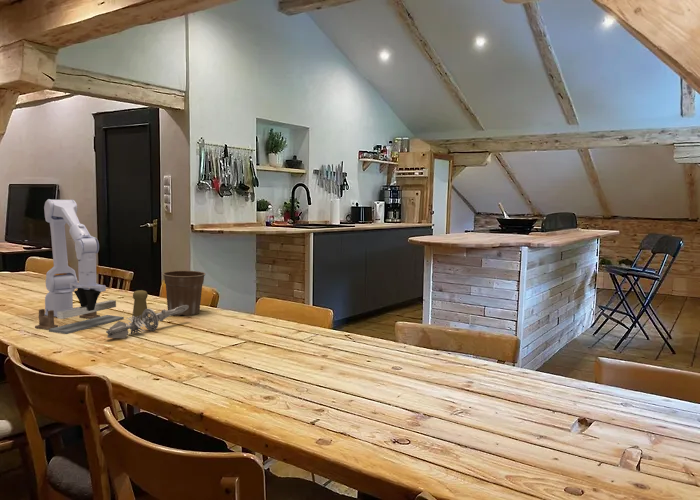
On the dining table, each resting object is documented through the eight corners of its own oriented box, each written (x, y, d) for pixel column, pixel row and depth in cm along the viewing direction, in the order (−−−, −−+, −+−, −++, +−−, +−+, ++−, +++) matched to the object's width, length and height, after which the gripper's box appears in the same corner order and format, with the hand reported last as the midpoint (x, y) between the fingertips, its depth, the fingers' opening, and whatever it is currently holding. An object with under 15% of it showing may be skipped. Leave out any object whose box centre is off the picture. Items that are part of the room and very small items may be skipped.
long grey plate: (48, 331, 189) (48, 329, 189) (107, 316, 214) (107, 314, 214) (66, 333, 187) (66, 331, 186) (123, 319, 211) (123, 316, 211)
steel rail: (57, 318, 189) (57, 311, 189) (110, 306, 211) (110, 300, 211) (62, 319, 188) (62, 312, 188) (115, 306, 210) (115, 300, 210)
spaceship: (198, 302, 206) (183, 292, 209) (116, 330, 176) (100, 318, 179) (193, 320, 209) (178, 310, 212) (112, 351, 179) (97, 338, 182)
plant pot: (213, 311, 228) (213, 272, 226) (186, 319, 213) (186, 277, 212) (182, 307, 235) (182, 269, 233) (153, 314, 220) (153, 273, 219)
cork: (151, 318, 213) (151, 289, 212) (144, 321, 207) (144, 292, 206) (136, 317, 214) (136, 289, 213) (128, 320, 208) (128, 291, 207)
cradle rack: (35, 327, 194) (34, 310, 193) (87, 315, 215) (87, 299, 214) (48, 329, 191) (47, 311, 191) (100, 317, 213) (99, 300, 212)
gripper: (62, 271, 197) (63, 309, 198) (94, 274, 192) (95, 313, 193) (78, 269, 204) (79, 306, 205) (110, 272, 199) (110, 310, 200)
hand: (88, 309), depth 200 cm, fingers closed on steel rail, 2 cm apart
